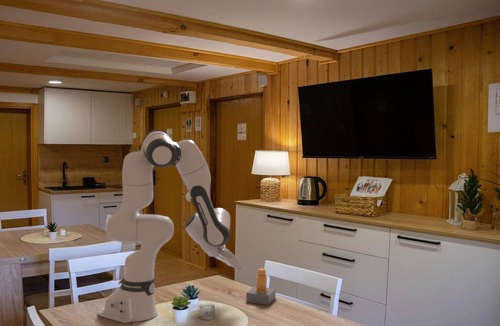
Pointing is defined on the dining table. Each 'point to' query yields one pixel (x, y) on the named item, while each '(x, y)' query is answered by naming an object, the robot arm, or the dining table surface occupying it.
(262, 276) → the orange bottle
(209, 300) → the dining table surface
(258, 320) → the dining table surface
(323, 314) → the dining table surface
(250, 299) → the grey square platform
